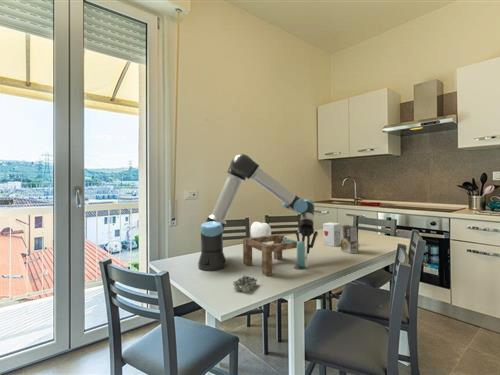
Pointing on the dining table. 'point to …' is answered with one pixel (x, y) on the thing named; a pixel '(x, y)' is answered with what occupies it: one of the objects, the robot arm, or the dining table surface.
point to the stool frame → (266, 250)
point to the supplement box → (331, 234)
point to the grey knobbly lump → (248, 283)
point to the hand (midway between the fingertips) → (304, 258)
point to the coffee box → (349, 239)
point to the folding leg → (298, 251)
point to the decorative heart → (259, 232)
